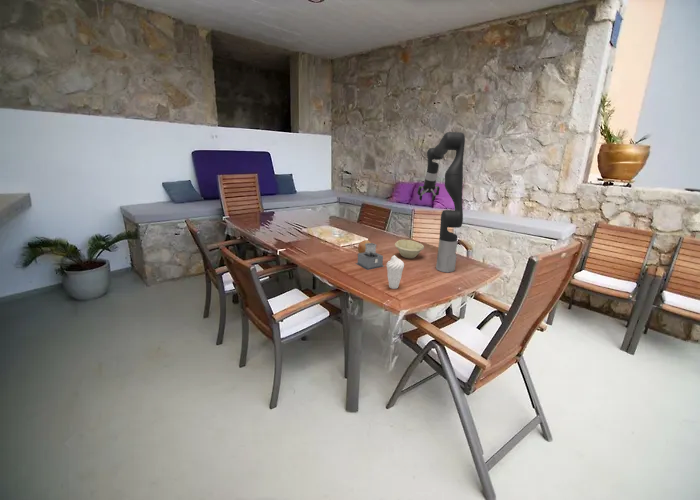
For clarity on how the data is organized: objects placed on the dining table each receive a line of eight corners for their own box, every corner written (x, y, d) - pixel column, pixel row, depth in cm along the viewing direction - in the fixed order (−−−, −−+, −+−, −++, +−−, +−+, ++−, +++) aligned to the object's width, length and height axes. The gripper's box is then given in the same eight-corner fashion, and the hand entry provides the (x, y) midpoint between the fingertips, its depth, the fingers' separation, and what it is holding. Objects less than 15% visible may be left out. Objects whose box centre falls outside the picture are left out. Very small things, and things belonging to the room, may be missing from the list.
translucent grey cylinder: (375, 265, 178) (376, 244, 175) (369, 266, 176) (369, 245, 172) (370, 263, 182) (371, 242, 178) (364, 264, 179) (365, 243, 176)
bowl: (405, 259, 207) (424, 246, 204) (407, 266, 190) (428, 252, 187) (392, 242, 206) (411, 228, 203) (393, 247, 188) (414, 233, 185)
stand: (384, 267, 177) (385, 253, 175) (367, 271, 171) (368, 257, 169) (372, 261, 187) (372, 248, 185) (355, 265, 181) (355, 251, 178)
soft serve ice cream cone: (400, 283, 156) (403, 252, 152) (404, 290, 148) (406, 258, 144) (383, 283, 156) (385, 252, 151) (386, 290, 148) (388, 258, 143)
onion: (368, 259, 191) (369, 243, 188) (354, 256, 196) (354, 240, 193) (376, 255, 199) (377, 240, 196) (362, 252, 204) (363, 237, 201)
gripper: (421, 180, 209) (417, 202, 218) (442, 180, 210) (438, 202, 219) (419, 175, 215) (415, 197, 224) (439, 176, 216) (435, 197, 225)
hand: (426, 200), depth 222 cm, fingers open, 8 cm apart
